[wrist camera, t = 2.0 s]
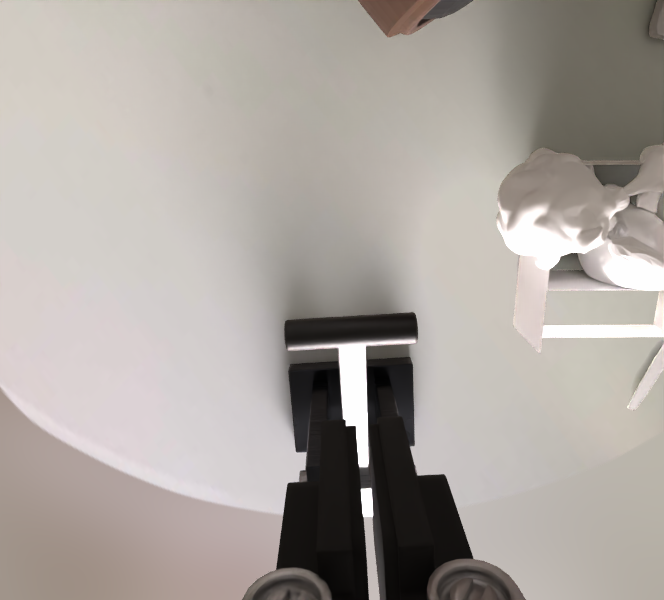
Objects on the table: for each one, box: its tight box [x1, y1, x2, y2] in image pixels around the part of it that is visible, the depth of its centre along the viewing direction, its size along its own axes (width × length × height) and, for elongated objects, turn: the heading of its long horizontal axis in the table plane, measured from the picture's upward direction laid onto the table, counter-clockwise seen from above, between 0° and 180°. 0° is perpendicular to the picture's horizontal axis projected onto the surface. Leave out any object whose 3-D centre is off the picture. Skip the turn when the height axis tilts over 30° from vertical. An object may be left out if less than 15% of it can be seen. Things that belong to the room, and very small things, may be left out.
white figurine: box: [496, 142, 664, 354], centre depth 30 cm, size 13×12×8 cm
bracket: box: [288, 357, 417, 482], centre depth 32 cm, size 6×8×11 cm
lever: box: [284, 312, 418, 516], centre depth 25 cm, size 13×5×2 cm, turn 4°
